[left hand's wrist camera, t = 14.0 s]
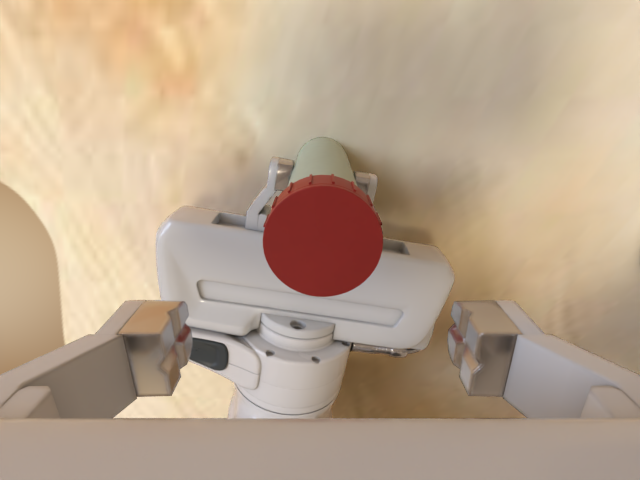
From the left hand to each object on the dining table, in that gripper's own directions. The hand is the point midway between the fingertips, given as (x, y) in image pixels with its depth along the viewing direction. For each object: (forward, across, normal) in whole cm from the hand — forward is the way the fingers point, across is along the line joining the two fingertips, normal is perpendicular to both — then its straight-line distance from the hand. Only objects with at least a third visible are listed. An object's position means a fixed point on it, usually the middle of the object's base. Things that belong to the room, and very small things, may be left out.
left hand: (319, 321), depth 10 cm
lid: (+5, 0, 0) cm, 5 cm away
